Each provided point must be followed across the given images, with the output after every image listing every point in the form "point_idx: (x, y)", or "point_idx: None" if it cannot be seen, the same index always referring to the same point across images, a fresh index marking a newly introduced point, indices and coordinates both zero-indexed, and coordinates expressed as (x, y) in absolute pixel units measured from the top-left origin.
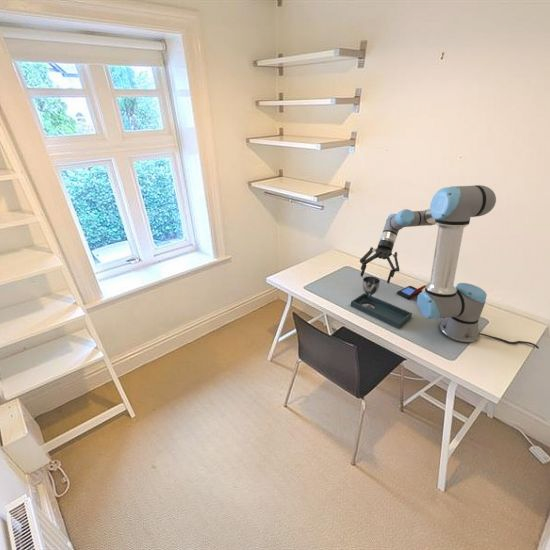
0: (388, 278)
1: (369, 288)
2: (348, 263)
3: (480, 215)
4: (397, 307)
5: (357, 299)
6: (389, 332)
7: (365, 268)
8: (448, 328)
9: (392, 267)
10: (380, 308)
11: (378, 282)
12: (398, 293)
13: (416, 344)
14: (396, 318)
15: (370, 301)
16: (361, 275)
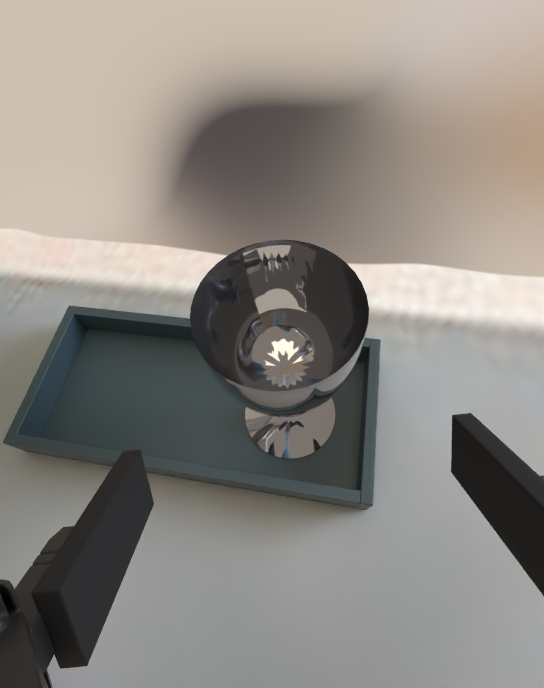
0: (119, 473)
1: (263, 276)
2: None
3: None
4: (96, 451)
5: (365, 396)
6: (120, 278)
7: (523, 564)
8: None
9: (13, 651)
10: (210, 430)
11: (220, 381)
12: None
13: (7, 274)
14: (103, 388)
15: (298, 474)
16: (458, 426)
